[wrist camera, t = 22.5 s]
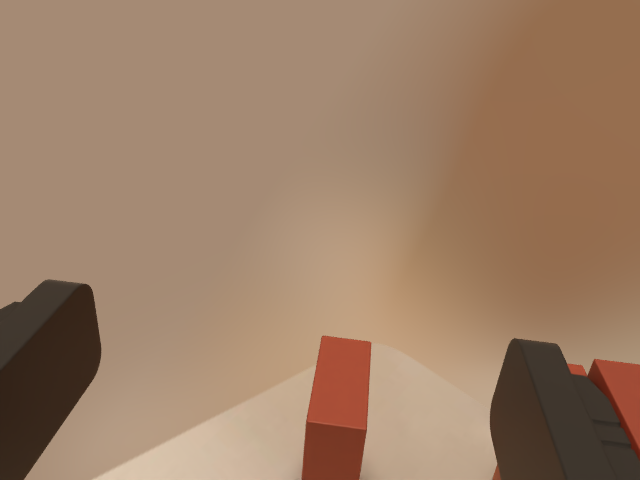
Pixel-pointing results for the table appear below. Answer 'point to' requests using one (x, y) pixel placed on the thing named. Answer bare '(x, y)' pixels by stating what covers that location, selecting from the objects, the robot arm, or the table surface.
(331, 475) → the red book
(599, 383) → the red books
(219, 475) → the table surface
